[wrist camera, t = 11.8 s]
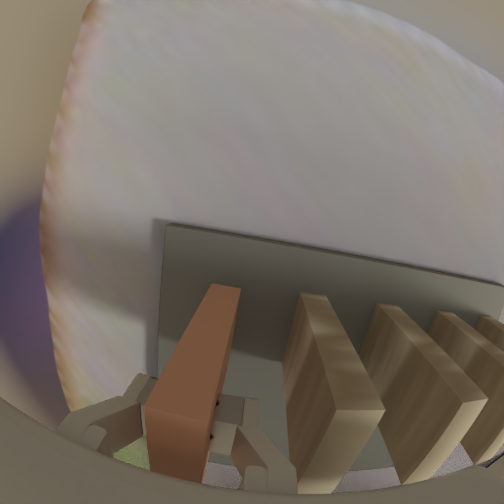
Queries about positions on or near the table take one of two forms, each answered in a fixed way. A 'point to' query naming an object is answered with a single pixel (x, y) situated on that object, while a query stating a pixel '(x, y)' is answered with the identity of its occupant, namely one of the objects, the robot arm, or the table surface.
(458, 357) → the domino
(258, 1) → the table surface
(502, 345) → the domino
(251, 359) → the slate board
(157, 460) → the end domino
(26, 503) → the robot arm
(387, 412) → the domino
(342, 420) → the domino
